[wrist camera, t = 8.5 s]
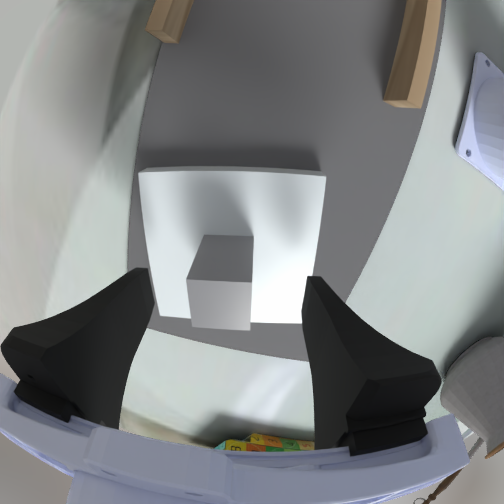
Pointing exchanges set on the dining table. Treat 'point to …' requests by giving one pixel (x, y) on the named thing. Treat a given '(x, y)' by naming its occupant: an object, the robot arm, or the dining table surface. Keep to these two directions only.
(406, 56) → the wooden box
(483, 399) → the grey faceted twig vase
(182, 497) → the robot arm
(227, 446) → the puzzle game
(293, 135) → the rubber mat
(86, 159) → the dining table surface
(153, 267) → the cover plate
